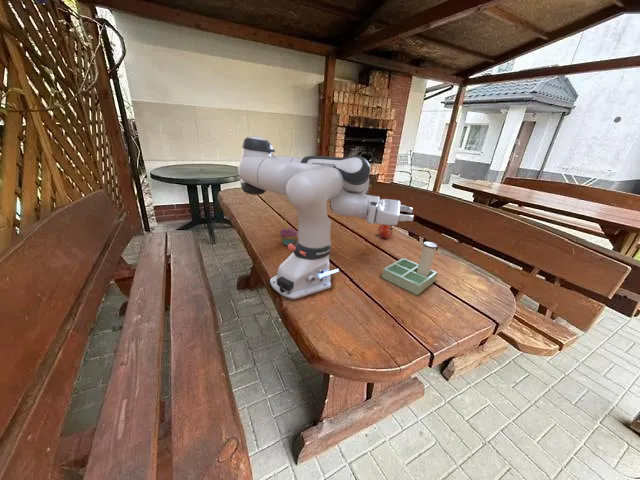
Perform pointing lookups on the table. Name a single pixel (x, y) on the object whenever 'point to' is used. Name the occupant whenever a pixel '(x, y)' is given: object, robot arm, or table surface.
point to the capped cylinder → (426, 258)
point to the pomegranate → (385, 231)
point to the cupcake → (288, 235)
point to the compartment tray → (408, 276)
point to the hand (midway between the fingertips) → (412, 214)
